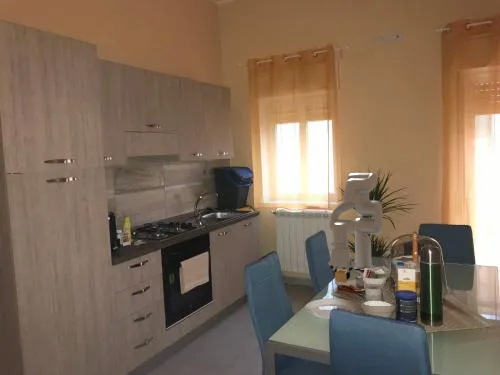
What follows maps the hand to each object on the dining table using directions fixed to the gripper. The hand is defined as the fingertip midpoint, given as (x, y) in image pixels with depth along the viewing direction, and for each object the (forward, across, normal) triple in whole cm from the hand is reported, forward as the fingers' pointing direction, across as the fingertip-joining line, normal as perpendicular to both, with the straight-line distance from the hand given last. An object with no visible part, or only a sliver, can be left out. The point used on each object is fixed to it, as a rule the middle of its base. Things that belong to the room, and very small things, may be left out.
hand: (342, 277), depth 217 cm
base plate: (+4, +10, -2) cm, 11 cm away
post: (+3, +10, -2) cm, 11 cm away
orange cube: (+2, 0, 0) cm, 2 cm away
